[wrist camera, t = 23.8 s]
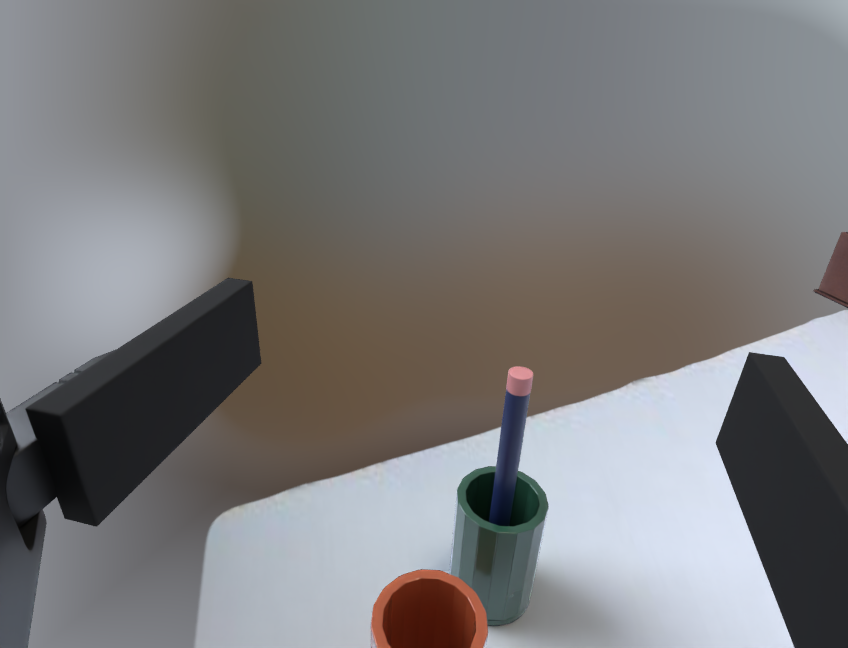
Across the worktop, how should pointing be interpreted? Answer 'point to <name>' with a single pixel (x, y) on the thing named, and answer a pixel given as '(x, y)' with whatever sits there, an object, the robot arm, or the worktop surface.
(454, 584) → the terracotta cup
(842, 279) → the desk organizer
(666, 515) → the worktop surface
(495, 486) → the pencil
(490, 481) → the green cup
